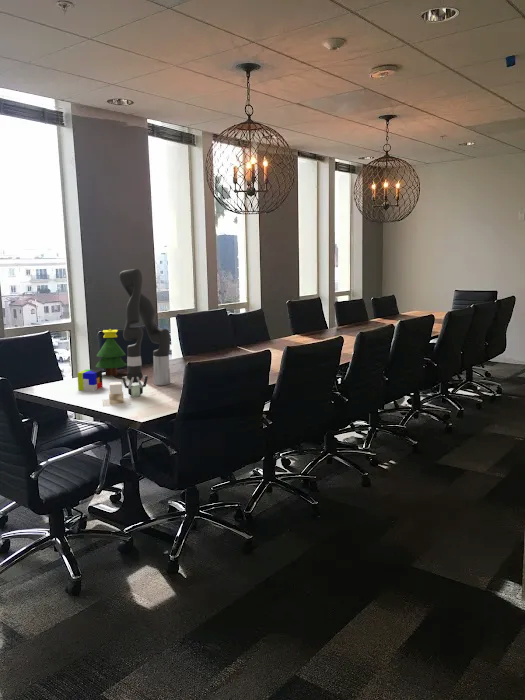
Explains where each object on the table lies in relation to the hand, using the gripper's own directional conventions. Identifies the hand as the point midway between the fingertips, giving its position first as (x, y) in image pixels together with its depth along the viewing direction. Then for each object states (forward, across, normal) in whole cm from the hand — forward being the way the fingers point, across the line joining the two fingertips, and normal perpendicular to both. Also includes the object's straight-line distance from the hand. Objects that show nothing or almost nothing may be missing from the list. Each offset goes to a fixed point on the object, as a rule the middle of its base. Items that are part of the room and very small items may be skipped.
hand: (135, 394), depth 323 cm
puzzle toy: (+1, +24, -28) cm, 36 cm away
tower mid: (-4, +11, +10) cm, 16 cm away
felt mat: (+1, +11, +10) cm, 15 cm away
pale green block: (+1, 0, 0) cm, 1 cm away
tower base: (+1, +11, +10) cm, 15 cm away
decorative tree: (+1, +10, -62) cm, 63 cm away
